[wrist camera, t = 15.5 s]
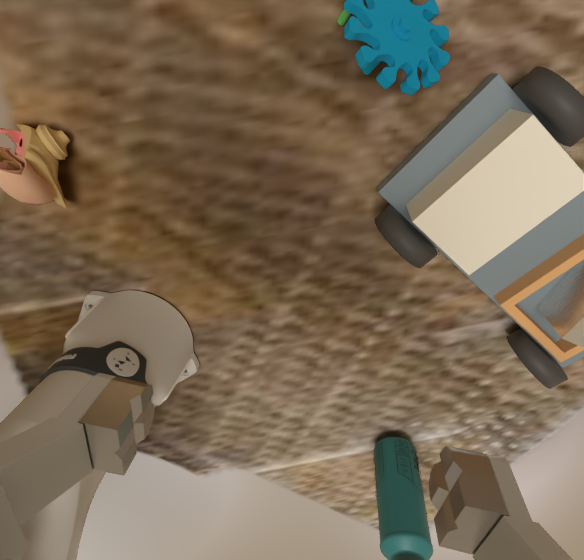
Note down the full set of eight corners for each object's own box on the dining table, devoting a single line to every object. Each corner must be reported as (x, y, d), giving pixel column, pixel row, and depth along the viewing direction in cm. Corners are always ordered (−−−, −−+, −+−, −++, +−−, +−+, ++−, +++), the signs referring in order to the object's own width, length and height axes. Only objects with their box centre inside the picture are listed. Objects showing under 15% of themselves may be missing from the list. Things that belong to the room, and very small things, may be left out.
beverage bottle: (363, 437, 60) (368, 587, 43) (399, 420, 57) (419, 574, 40) (389, 460, 62) (403, 613, 44) (424, 445, 59) (454, 602, 41)
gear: (475, 50, 32) (406, 107, 29) (426, 89, 38) (364, 141, 34) (400, -68, 30) (317, -22, 27) (360, -9, 36) (287, 35, 33)
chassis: (541, 365, 49) (568, 407, 43) (363, 200, 42) (365, 223, 35) (698, 277, 41) (759, 314, 34) (511, 54, 33) (546, 51, 27)
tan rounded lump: (38, 91, 41) (56, 130, 36) (92, 164, 50) (113, 204, 44) (-46, 129, 40) (-39, 176, 34) (25, 198, 48) (39, 244, 43)
